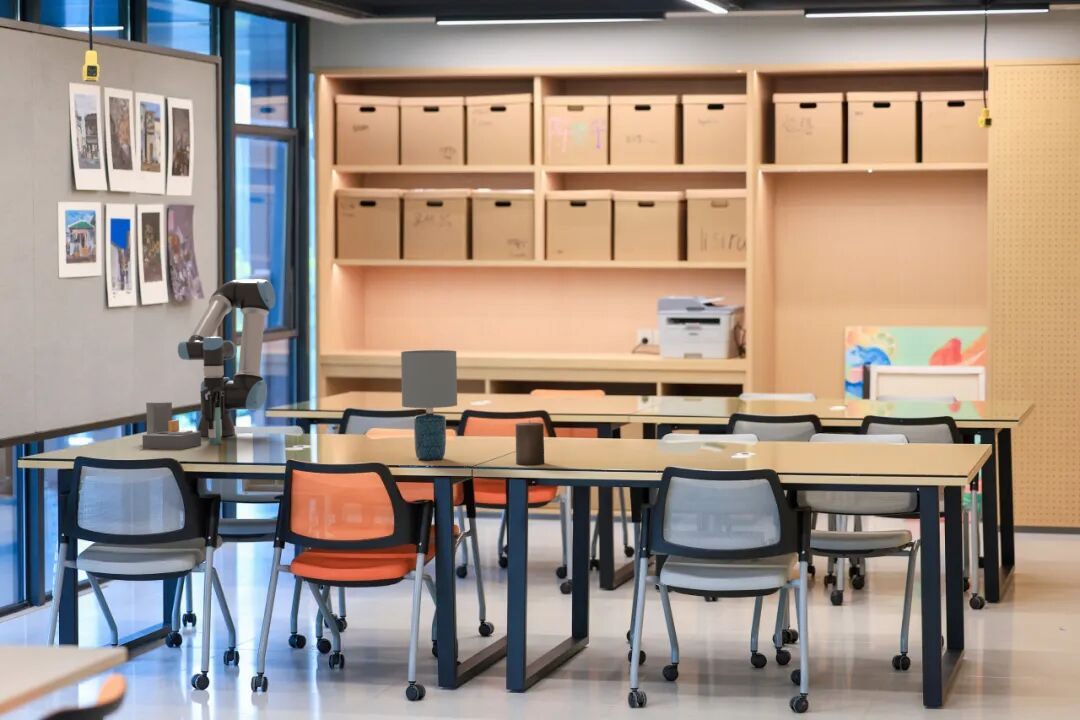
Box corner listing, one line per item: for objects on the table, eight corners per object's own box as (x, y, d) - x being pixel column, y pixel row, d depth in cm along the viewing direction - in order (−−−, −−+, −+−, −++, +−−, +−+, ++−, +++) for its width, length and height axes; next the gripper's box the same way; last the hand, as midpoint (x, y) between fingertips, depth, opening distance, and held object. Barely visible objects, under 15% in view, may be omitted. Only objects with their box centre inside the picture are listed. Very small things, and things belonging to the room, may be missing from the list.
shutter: (176, 432, 609) (176, 419, 609) (192, 432, 607) (192, 419, 607) (167, 434, 602) (167, 421, 602) (183, 434, 600) (183, 421, 600)
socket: (163, 443, 616) (163, 431, 616) (201, 444, 612) (200, 431, 611) (142, 448, 601) (142, 435, 600) (180, 449, 596) (180, 436, 596)
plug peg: (212, 442, 617) (212, 407, 616) (223, 443, 616) (222, 407, 615) (207, 444, 613) (206, 408, 612) (217, 444, 612) (217, 408, 611)
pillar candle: (548, 464, 537) (548, 420, 536) (521, 465, 533) (520, 421, 533) (538, 461, 546) (537, 418, 545) (511, 463, 542) (511, 419, 542)
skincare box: (154, 443, 618) (153, 403, 617) (145, 442, 623) (144, 402, 622) (174, 441, 623) (173, 401, 622) (165, 440, 628) (164, 400, 628)
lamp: (413, 463, 543) (411, 353, 541) (395, 457, 561) (393, 351, 559) (465, 460, 551) (464, 351, 549) (446, 454, 568) (445, 349, 566)
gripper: (215, 375, 622) (216, 434, 624) (194, 378, 606) (195, 439, 607) (232, 375, 620) (234, 434, 622) (212, 378, 604) (213, 439, 605)
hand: (215, 436), depth 614 cm, fingers closed on plug peg, 4 cm apart
